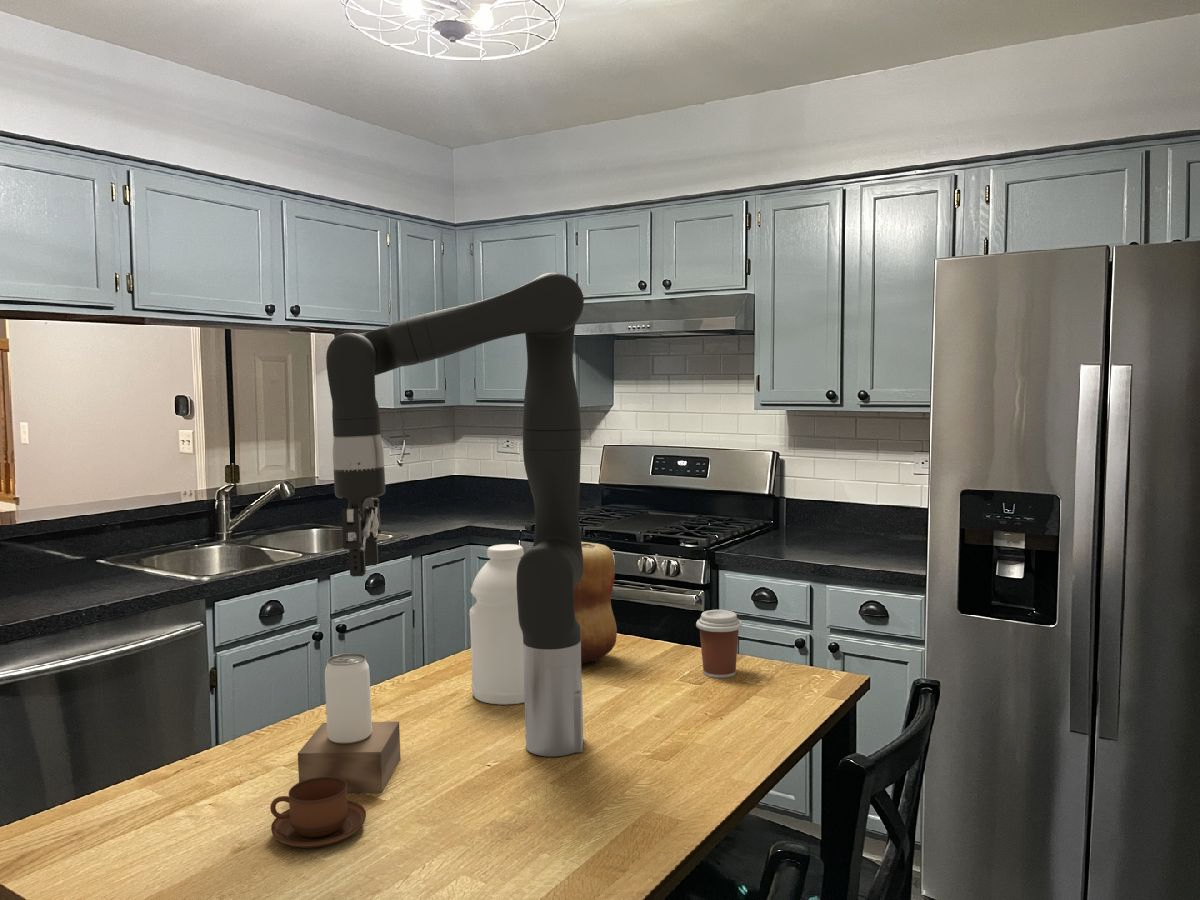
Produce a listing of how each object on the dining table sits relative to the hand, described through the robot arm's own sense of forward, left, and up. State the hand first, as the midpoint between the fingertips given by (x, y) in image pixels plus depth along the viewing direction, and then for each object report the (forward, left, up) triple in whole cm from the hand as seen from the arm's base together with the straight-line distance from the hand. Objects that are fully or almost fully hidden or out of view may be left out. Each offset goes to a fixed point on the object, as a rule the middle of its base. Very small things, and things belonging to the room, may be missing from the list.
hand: (364, 570), depth 143 cm
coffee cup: (-59, -41, -31) cm, 78 cm away
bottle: (-18, -31, -31) cm, 47 cm away
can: (+2, +5, -25) cm, 25 cm away
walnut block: (+2, +5, -30) cm, 31 cm away
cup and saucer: (+1, +23, -31) cm, 38 cm away
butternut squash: (-32, -50, -31) cm, 67 cm away
